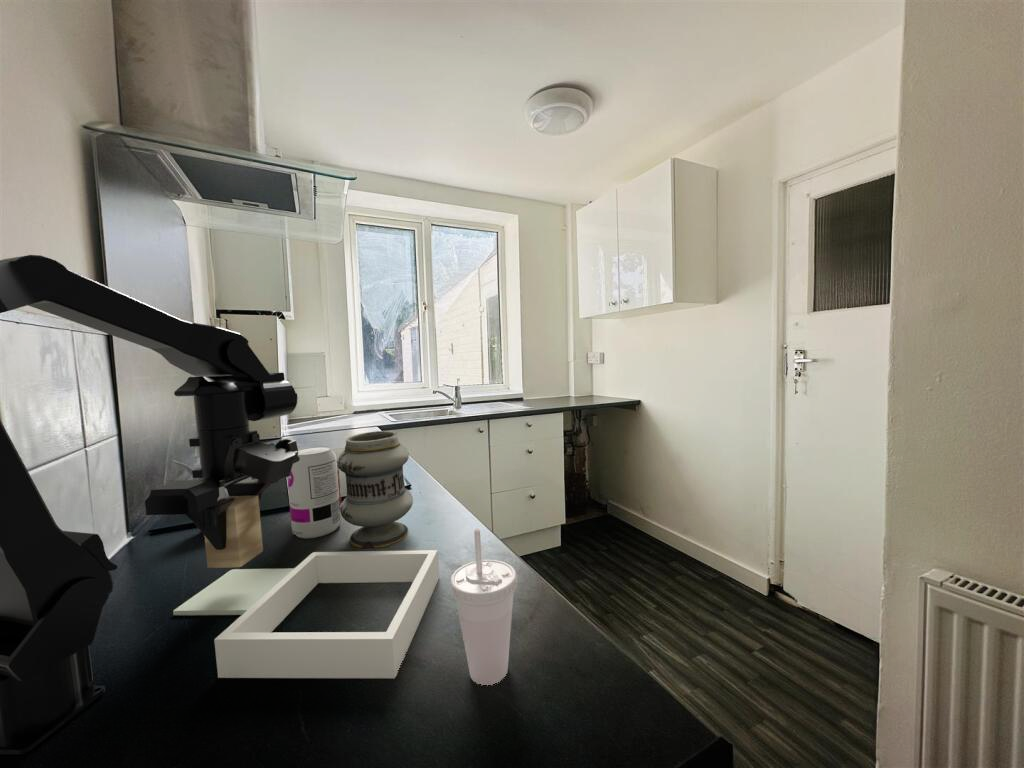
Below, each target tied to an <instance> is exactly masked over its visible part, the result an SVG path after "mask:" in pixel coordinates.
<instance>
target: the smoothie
mask: <svg viewBox="0 0 1024 768" xmlns="http://www.w3.org/2000/svg"><path fill="white" fill-rule="evenodd" d="M473 532H474V551H475V561H471V562H468V563H466V564H464V565H462V566H460V567H459V568H457V569H456V570H455V571H454V572H453V573H452V575H451V578H450V592H451V594H452V596H453V597H454V598H455V604H456V608H457V613H458V618H459V624H460V628H461V629H460V630H461V635H462V639H463V645H464V649H465V655H466V660H467V666H468V670H469V671H468V672H469V677H470V678H471V680H472V681H473V682H474V683H475V682H476V683H475V684H477V685H479V684H481V685H480V686H483V685H487V686H486V687H488V685H491V686H494V685H493V684H495V683H497V684H499V683H501V682H502V681H503V680H504V679H505V678H506V677H505V676H507V675H506V674H508V671H509V658H510V656H509V655H510V646H511V645H510V642H511V631H512V618H513V617H512V615H513V605H514V604H513V603H514V592H515V591H516V589H517V587H518V579H517V572H516V570H515V568H514V567H513V566H511V565H510V564H509V563H507V562H505V561H501V560H498V559H482V543H481V530H480V529H479V528H476V529H474V530H473ZM504 677H505V678H504ZM503 678H504V679H503ZM502 679H503V680H502ZM501 680H502V681H501ZM500 681H501V682H500ZM498 682H499V683H498ZM495 685H496V684H495Z"/></svg>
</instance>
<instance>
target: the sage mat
mask: <svg viewBox="0 0 1024 768" xmlns="http://www.w3.org/2000/svg"><path fill="white" fill-rule="evenodd" d="M295 568H296V567H293V568H290V567H289V568H242V569H241V568H235V569H233V568H232V569H230V570H229V571H227V572H226V573H225V574H223V575H222V576H220V577H219V578H217V579H216V580H215V581H213V582H211V583H210V584H209V585H208V586H206V587H204V588H203V589H201V590H200V591H199V592H198V593H196V594H195V595H193V596H192V597H190V598H189V599H187V600H186V601H185V602H183V603H182V604H181V605H179V606H177V607H176V608H175V609H173V616H238V615H239V616H241V615H243V614H244V613H245V612H246V611H247V610H248V609H249V608H250V607H252V606H253V605H254V604H255V603H256V602H257V601H258V600H259V599H261V598H262V597H263V596H264V595H265V594H266V593H267V592H269V591H270V590H271V589H272V588H273V587H274V586H275V585H276V584H278V583H279V582H280V581H281V580H282V579H283V578H284V577H286V576H287V575H288V574H289V573H290V572H291V571H292V570H293V569H295Z"/></svg>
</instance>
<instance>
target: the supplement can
mask: <svg viewBox="0 0 1024 768" xmlns="http://www.w3.org/2000/svg"><path fill="white" fill-rule="evenodd" d="M298 456H299V458H300V460H299V461H298V462H296V463H294V464H293V466H292V469H291V473H290V476H288V477H286V478H287V486H288V487H287V489H288V499H289V512H290V523H291V532H292V534H293V535H296V537H297V538H299V539H315V538H318V537H323V536H326V535H329V534H331V533H333V532H335V531H336V530H337V529H338V527H339V526H340V525H341V523H342V515H341V512H340V508H341V506H340V500H339V487H338V474H337V461H336V458H337V455H336V453H335V452H334V450H333V448H332V447H331V446H327V445H319V446H309V447H303V448H298Z"/></svg>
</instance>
